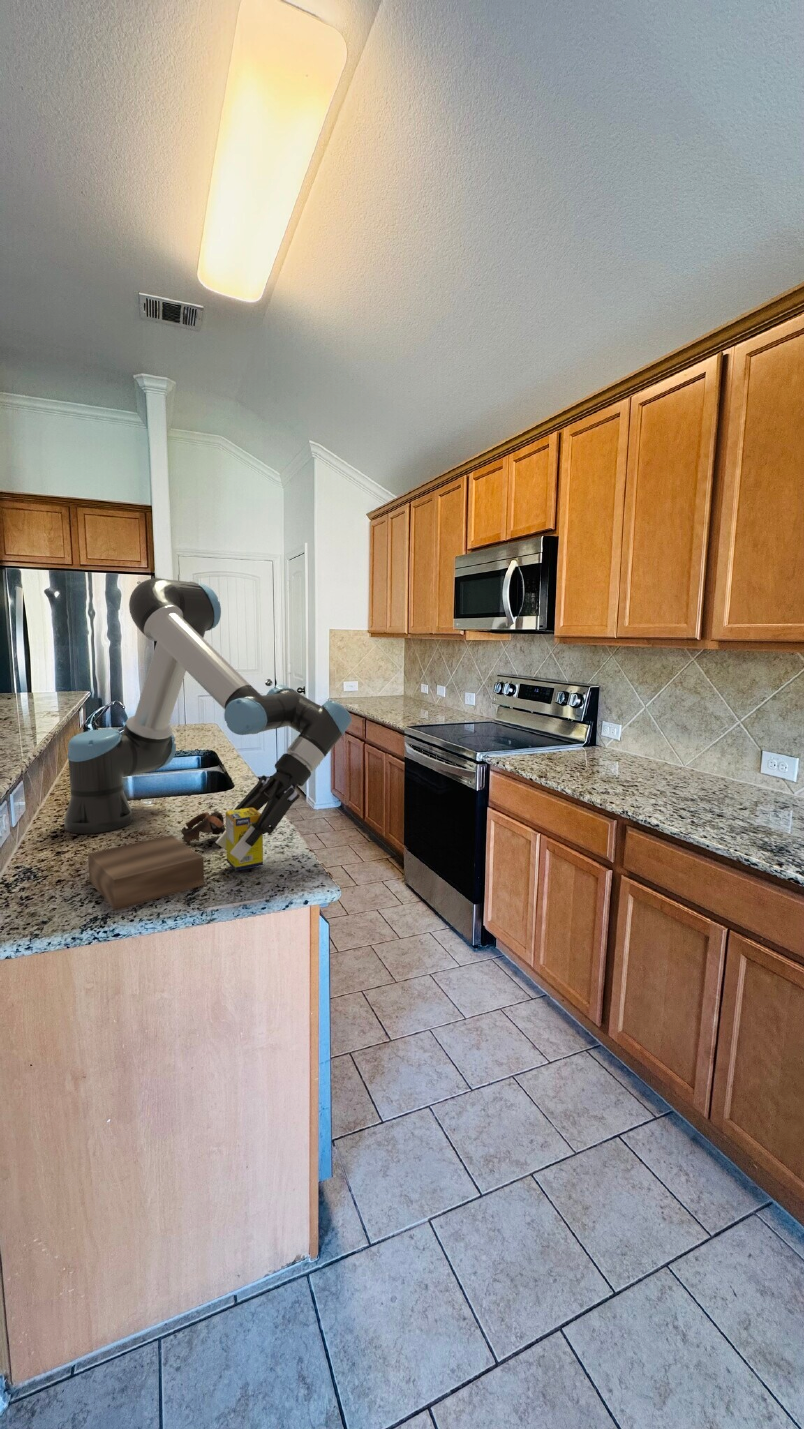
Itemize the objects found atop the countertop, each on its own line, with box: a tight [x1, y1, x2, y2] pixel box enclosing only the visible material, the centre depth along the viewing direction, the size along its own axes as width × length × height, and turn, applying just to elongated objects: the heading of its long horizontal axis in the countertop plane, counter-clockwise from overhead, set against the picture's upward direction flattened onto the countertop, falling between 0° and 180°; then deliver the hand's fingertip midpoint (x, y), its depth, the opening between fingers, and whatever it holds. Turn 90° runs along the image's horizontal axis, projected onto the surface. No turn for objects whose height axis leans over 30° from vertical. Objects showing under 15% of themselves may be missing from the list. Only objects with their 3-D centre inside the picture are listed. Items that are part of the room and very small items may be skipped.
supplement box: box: [225, 808, 264, 872], centre depth 118 cm, size 6×6×11 cm
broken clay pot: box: [180, 811, 226, 844], centre depth 133 cm, size 12×9×8 cm
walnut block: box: [87, 834, 205, 912], centre depth 111 cm, size 16×16×6 cm
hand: (227, 851), depth 116 cm, fingers closed on supplement box, 6 cm apart
